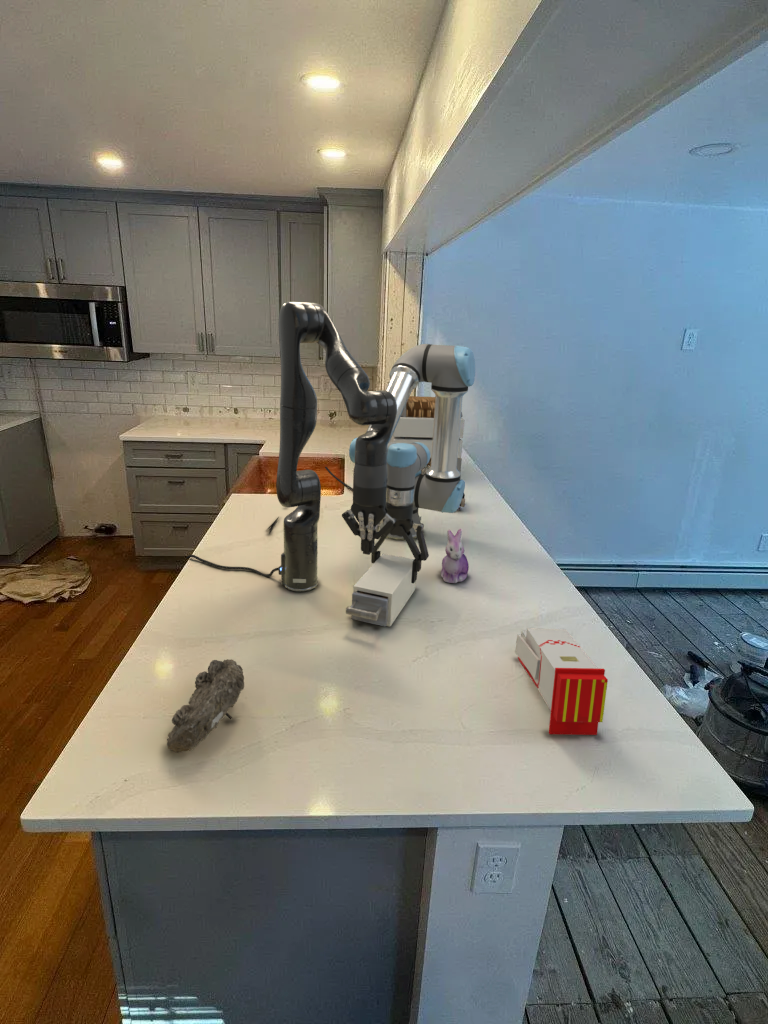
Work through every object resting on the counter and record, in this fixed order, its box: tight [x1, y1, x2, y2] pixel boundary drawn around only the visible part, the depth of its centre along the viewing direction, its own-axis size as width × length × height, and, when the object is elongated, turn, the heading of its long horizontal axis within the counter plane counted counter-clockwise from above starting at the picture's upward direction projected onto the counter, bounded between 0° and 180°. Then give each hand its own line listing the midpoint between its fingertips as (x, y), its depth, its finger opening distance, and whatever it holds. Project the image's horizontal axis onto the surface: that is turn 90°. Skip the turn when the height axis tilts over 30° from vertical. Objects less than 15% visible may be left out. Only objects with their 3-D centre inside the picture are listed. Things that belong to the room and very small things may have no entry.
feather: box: [266, 507, 287, 535], centre depth 206 cm, size 2×28×2 cm
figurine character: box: [457, 492, 466, 511], centre depth 229 cm, size 7×8×15 cm
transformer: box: [390, 395, 465, 474], centre depth 268 cm, size 34×33×41 cm
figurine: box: [440, 528, 470, 584], centre depth 167 cm, size 9×10×15 cm
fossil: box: [166, 658, 245, 754], centre depth 106 cm, size 22×10×15 cm
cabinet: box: [352, 553, 417, 627], centre depth 151 cm, size 22×10×9 cm, turn 161°
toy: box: [514, 627, 609, 736], centre depth 119 cm, size 12×13×30 cm
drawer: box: [345, 591, 388, 627], centre depth 146 cm, size 26×9×7 cm, turn 160°
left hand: (367, 553), depth 132 cm, fingers closed
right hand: (395, 577), depth 158 cm, fingers closed on cabinet, 10 cm apart
